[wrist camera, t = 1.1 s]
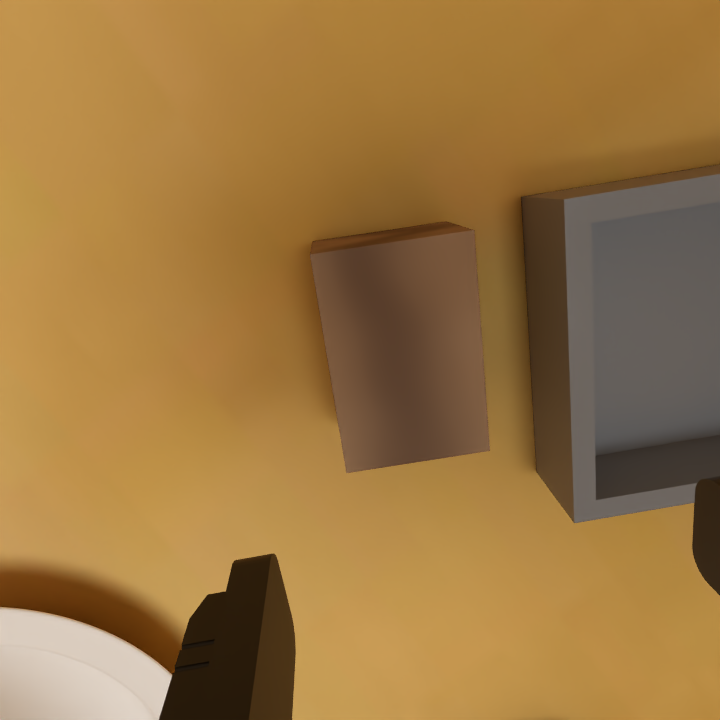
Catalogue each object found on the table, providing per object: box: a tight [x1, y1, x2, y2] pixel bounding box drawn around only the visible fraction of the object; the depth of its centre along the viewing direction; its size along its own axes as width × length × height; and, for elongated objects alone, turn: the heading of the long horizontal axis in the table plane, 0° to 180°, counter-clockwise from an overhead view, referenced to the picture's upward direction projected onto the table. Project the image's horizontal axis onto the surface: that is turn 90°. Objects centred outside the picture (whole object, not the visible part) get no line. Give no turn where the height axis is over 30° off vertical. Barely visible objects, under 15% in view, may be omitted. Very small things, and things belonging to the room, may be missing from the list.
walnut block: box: [310, 222, 490, 473], centre depth 23 cm, size 6×9×5 cm, turn 8°
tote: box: [521, 164, 720, 523], centre depth 24 cm, size 13×14×4 cm
